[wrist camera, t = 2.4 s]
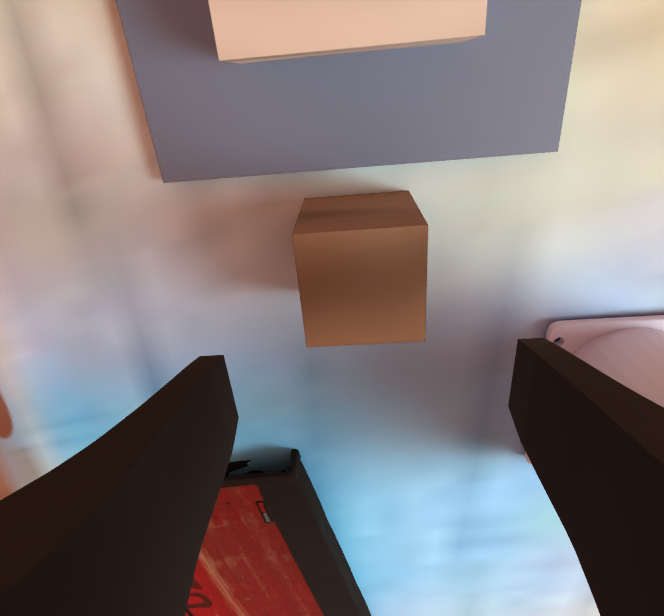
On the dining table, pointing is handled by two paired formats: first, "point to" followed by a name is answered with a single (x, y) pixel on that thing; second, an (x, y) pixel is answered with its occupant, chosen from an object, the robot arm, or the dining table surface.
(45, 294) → the dining table surface
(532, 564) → the dining table surface
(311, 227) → the walnut block
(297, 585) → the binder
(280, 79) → the board
